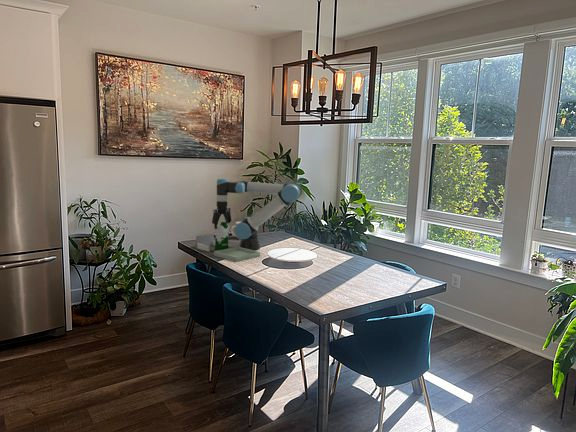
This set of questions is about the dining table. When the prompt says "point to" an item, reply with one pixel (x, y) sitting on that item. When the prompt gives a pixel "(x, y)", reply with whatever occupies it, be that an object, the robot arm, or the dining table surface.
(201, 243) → the dock
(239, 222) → the pitcher
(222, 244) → the soya milk
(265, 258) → the dining table surface
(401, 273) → the dining table surface
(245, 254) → the tray
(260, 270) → the dining table surface
